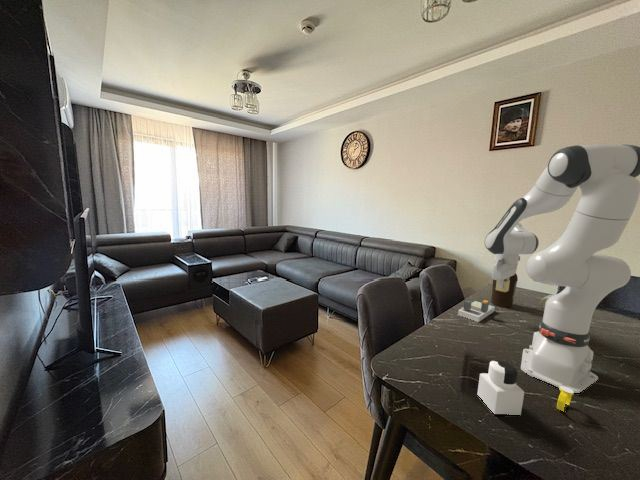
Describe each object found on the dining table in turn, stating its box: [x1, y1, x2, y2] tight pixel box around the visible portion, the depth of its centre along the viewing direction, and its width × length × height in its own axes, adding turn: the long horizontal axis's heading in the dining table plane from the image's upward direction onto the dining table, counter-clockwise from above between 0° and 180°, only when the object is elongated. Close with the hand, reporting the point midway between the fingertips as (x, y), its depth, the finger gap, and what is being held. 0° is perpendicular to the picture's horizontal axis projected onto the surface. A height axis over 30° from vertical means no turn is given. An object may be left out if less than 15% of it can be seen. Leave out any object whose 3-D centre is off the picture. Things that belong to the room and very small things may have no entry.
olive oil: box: [490, 273, 518, 309], centre depth 136 cm, size 11×11×25 cm
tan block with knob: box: [496, 279, 510, 292], centre depth 117 cm, size 4×4×6 cm
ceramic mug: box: [539, 294, 555, 310], centre depth 130 cm, size 11×8×8 cm
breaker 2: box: [481, 299, 490, 312], centre depth 121 cm, size 3×2×5 cm, turn 128°
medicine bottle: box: [476, 359, 525, 416], centre depth 67 cm, size 7×7×12 cm
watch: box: [556, 386, 575, 413], centre depth 67 cm, size 6×3×6 cm, turn 122°
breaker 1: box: [463, 299, 473, 311], centre depth 123 cm, size 3×2×4 cm, turn 128°
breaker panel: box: [457, 300, 495, 323], centre depth 125 cm, size 20×9×3 cm, turn 128°
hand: (502, 286), depth 117 cm, fingers closed on tan block with knob, 4 cm apart
